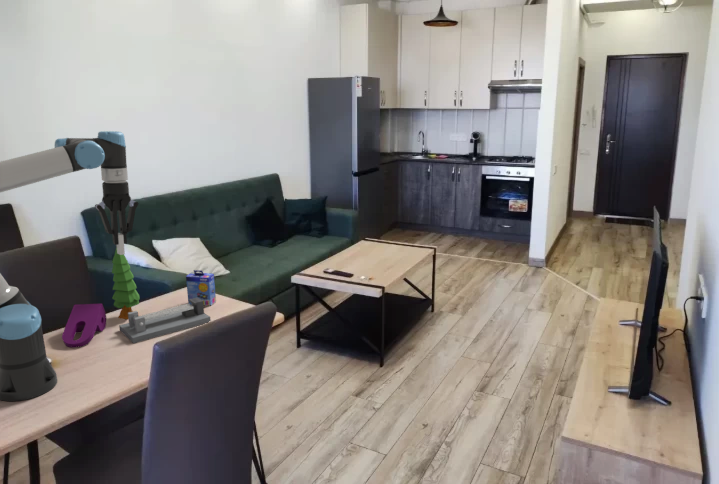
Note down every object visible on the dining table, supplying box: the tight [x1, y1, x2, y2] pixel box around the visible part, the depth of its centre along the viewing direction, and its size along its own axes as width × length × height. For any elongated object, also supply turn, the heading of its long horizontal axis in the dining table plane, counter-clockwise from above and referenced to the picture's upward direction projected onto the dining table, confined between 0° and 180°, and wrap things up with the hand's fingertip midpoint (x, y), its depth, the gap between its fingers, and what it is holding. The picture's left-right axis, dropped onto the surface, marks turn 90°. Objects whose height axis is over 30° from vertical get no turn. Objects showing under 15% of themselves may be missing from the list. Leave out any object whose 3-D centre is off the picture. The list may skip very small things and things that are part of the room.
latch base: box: [118, 298, 212, 344], centre depth 196 cm, size 28×14×7 cm, turn 131°
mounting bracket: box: [61, 303, 107, 348], centre depth 188 cm, size 10×8×18 cm
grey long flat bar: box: [132, 303, 194, 322], centre depth 195 cm, size 21×4×2 cm, turn 131°
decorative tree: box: [111, 245, 140, 321], centre depth 201 cm, size 10×9×30 cm
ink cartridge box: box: [185, 269, 217, 306], centre depth 217 cm, size 10×6×14 cm, turn 82°
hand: (120, 253), depth 176 cm, fingers closed
